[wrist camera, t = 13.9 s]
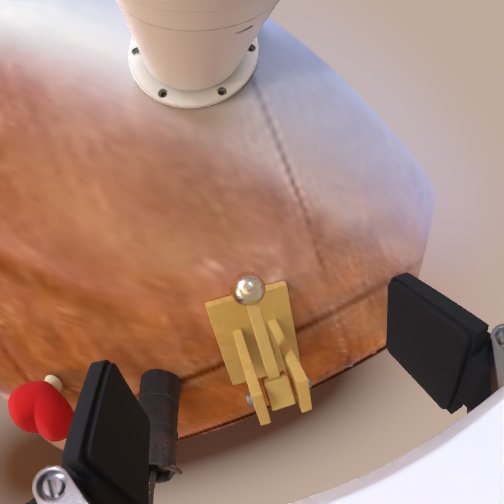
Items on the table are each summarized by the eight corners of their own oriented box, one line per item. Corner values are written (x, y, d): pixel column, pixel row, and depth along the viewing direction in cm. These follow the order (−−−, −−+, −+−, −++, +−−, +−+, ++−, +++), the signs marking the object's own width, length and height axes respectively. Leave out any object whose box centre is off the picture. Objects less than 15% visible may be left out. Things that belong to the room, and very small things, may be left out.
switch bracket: (205, 302, 33) (215, 371, 22) (283, 279, 34) (326, 337, 23) (231, 379, 37) (249, 450, 26) (297, 359, 38) (332, 423, 27)
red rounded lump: (85, 370, 32) (66, 426, 23) (86, 404, 34) (72, 457, 25) (25, 349, 30) (-5, 397, 20) (30, 385, 31) (7, 432, 22)
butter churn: (195, 345, 34) (233, 592, 8) (208, 400, 37) (248, 597, 11) (122, 353, 33) (91, 584, 6) (143, 406, 36) (143, 599, 10)
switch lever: (226, 278, 29) (226, 274, 26) (258, 270, 30) (261, 264, 27) (264, 404, 27) (267, 414, 24) (295, 394, 27) (302, 403, 24)
